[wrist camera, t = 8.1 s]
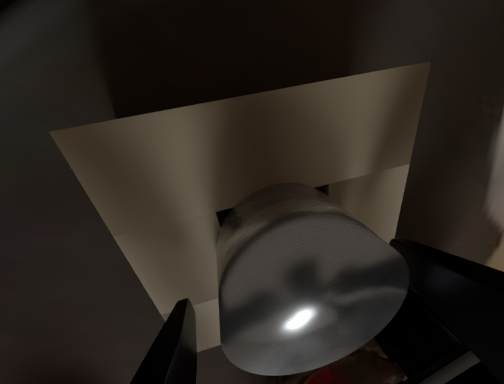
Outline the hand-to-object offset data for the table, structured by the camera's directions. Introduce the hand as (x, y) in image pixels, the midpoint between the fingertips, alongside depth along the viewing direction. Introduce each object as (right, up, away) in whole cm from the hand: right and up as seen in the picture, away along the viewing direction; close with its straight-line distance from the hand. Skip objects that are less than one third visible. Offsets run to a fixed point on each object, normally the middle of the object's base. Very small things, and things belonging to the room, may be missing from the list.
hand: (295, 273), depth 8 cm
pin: (-1, +3, +6) cm, 7 cm away
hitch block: (-1, +3, +6) cm, 7 cm away
